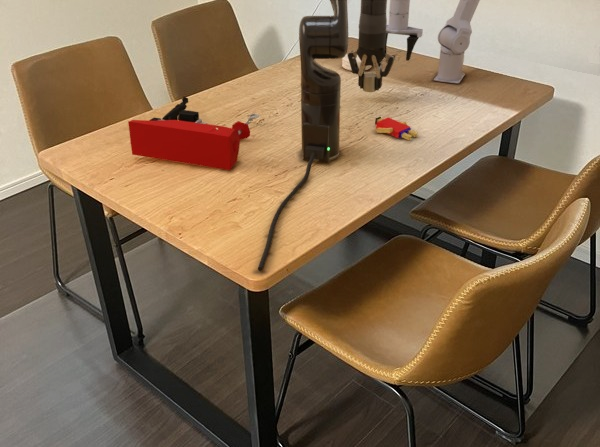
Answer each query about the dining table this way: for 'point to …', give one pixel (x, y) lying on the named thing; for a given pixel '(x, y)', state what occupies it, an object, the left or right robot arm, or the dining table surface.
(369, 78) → the canister
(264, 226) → the dining table surface
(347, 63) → the white ridged disc
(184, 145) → the electric hoist
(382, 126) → the toy figure
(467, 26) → the right robot arm
